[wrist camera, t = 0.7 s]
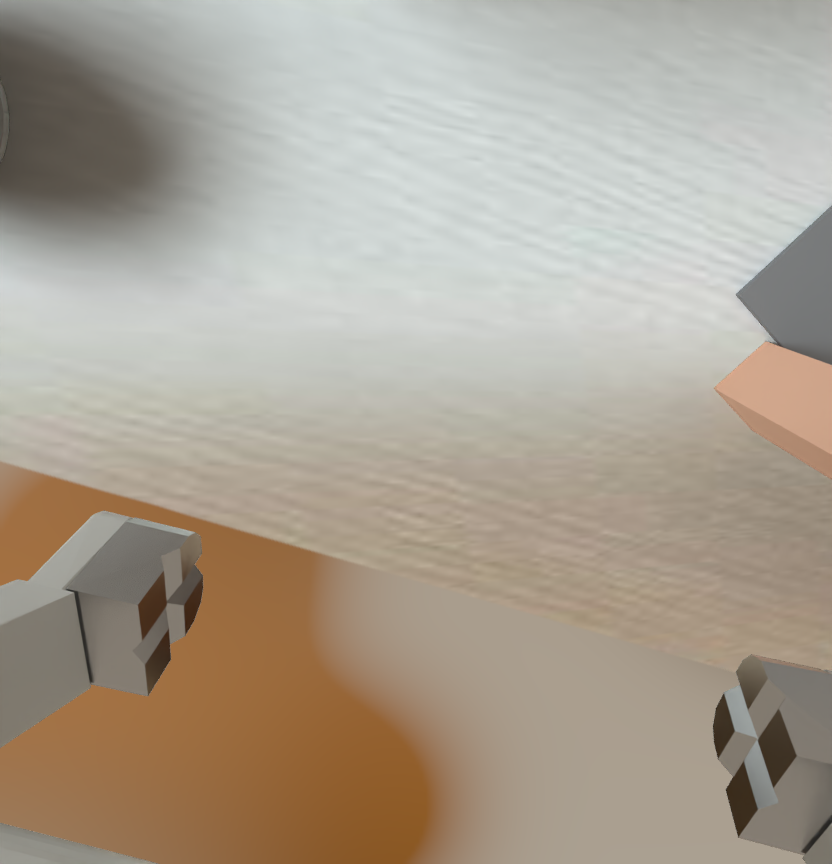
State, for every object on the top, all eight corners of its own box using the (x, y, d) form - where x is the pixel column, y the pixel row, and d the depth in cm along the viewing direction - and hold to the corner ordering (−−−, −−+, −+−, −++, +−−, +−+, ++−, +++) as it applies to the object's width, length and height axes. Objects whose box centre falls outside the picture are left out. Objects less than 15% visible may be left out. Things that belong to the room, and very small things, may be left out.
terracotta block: (752, 430, 52) (901, 522, 37) (713, 388, 51) (851, 465, 35) (803, 385, 51) (979, 461, 36) (765, 341, 50) (931, 400, 34)
